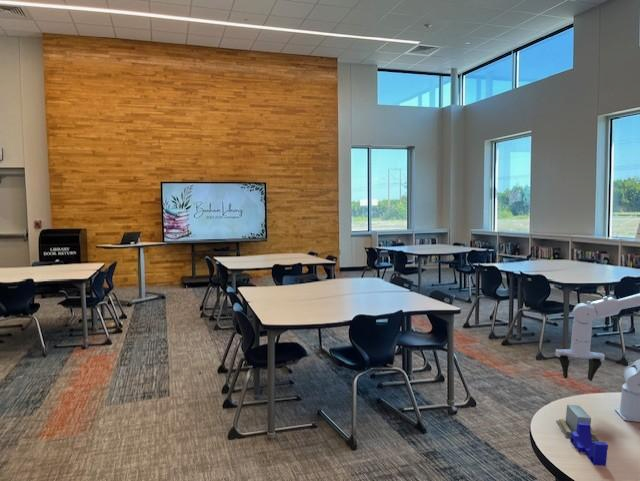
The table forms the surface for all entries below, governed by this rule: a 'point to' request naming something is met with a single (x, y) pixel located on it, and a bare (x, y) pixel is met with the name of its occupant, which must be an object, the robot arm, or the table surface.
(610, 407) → the table surface
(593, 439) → the guide mat
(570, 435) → the guide rails
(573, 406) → the bar
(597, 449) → the cable clip
